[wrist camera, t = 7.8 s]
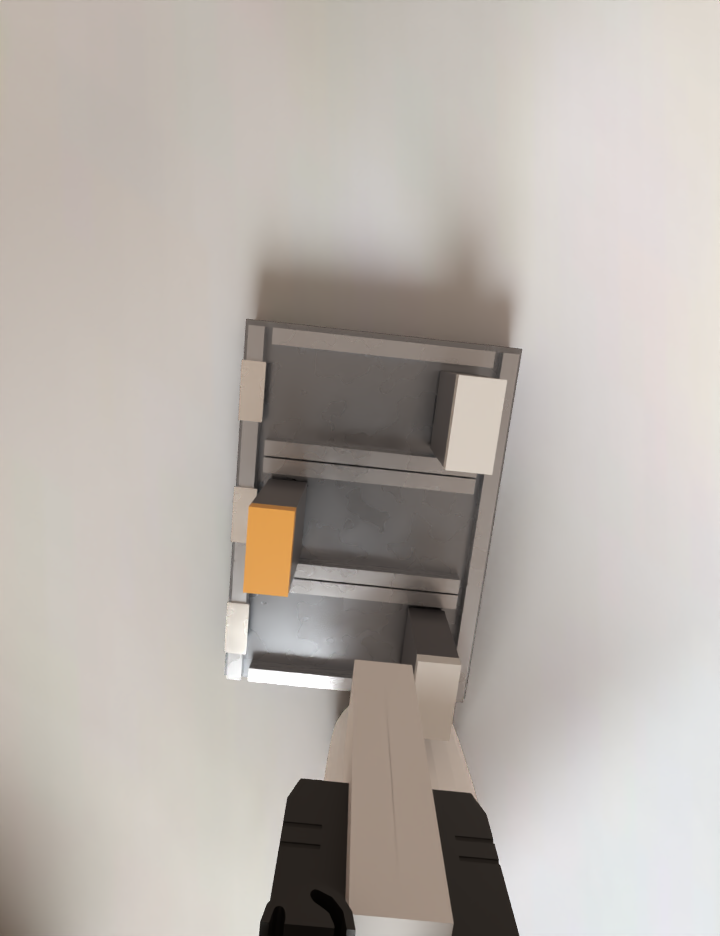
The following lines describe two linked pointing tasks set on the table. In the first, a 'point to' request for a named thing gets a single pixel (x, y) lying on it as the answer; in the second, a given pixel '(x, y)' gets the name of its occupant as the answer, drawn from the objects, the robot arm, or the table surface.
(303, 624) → the panel
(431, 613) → the block
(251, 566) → the block
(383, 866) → the robot arm
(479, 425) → the block
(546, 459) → the table surface
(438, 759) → the cup
